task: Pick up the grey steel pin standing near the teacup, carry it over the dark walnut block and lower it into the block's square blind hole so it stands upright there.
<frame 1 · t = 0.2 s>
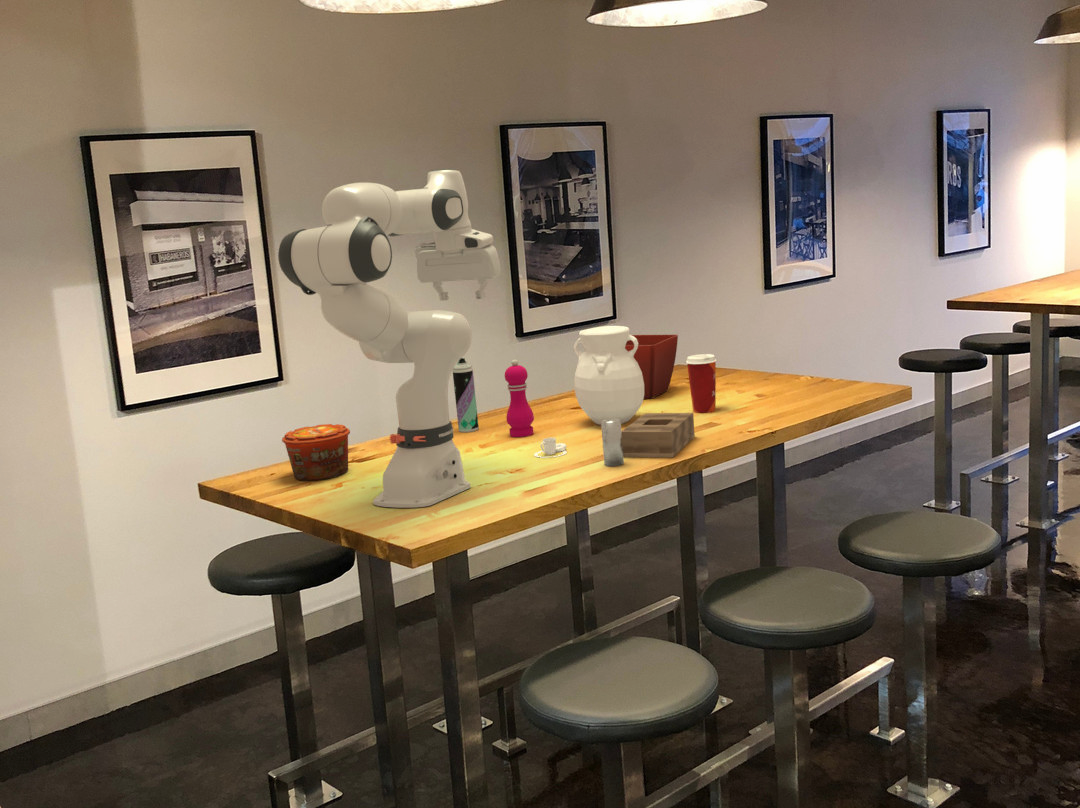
hand: (462, 299, 246), 39 cm above the table, tool pointing down, fingers open, 8 cm apart
plant pot: (640, 395, 317), on the table
teacup and saucer: (563, 456, 253), on the table
pepper mill: (521, 435, 278), on the table
food container: (321, 475, 254), on the table
socket block: (659, 446, 251), on the table
spray can: (468, 430, 289), on the table
coffee cup: (704, 411, 286), on the table
pin: (614, 464, 239), on the table
pitcher: (612, 422, 283), on the table
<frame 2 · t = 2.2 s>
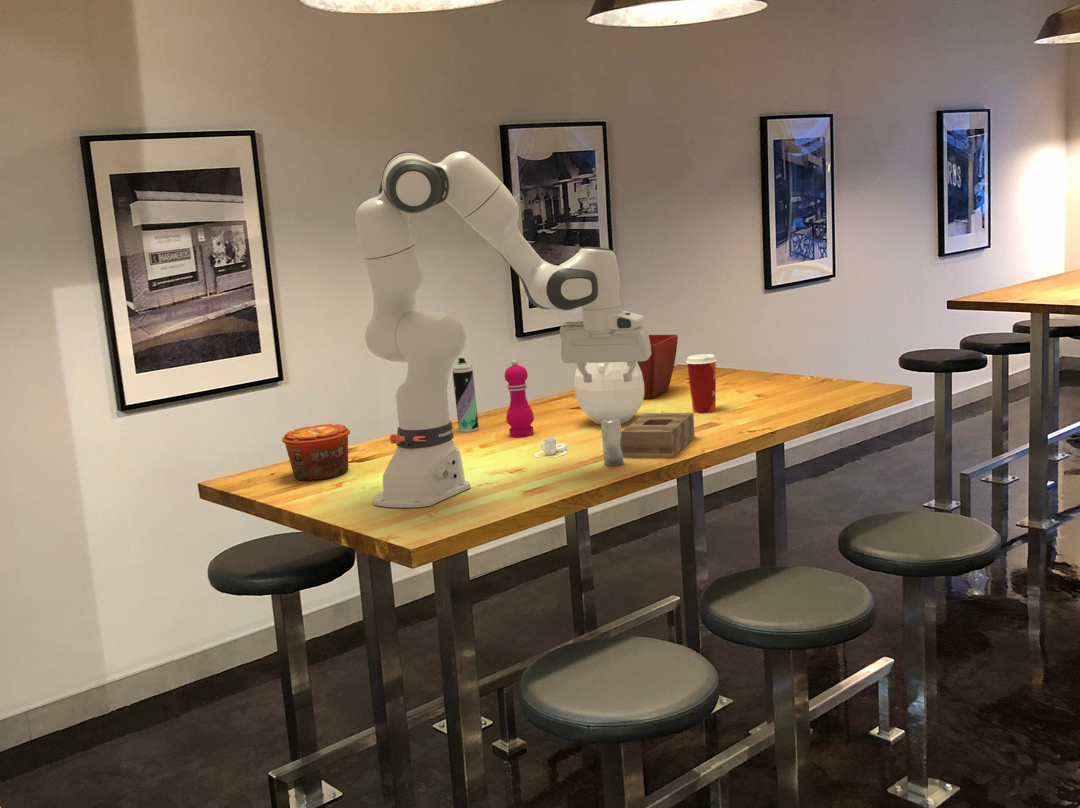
hand: (607, 381, 235), 19 cm above the table, tool pointing down, fingers open, 8 cm apart
nothing on the table moved.
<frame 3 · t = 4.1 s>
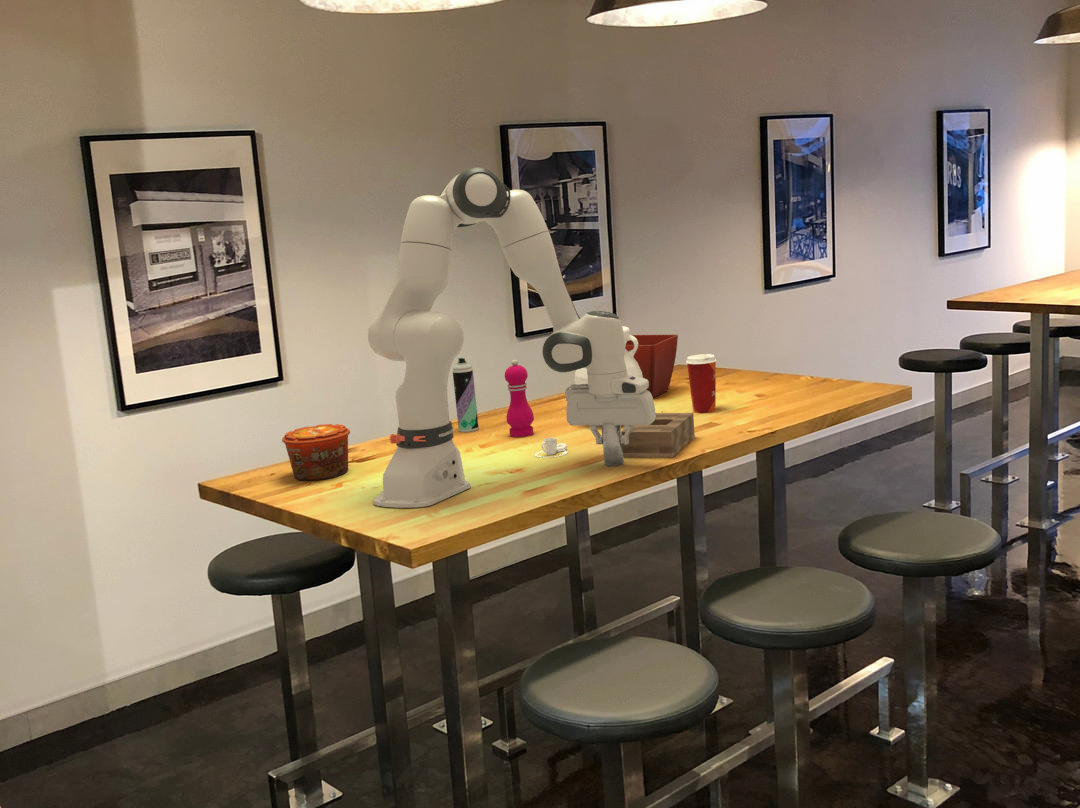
hand: (612, 444, 238), 5 cm above the table, tool pointing down, fingers closed on pin, 4 cm apart
pin: (614, 463, 239), on the table, touching gripper
everything else where it was.
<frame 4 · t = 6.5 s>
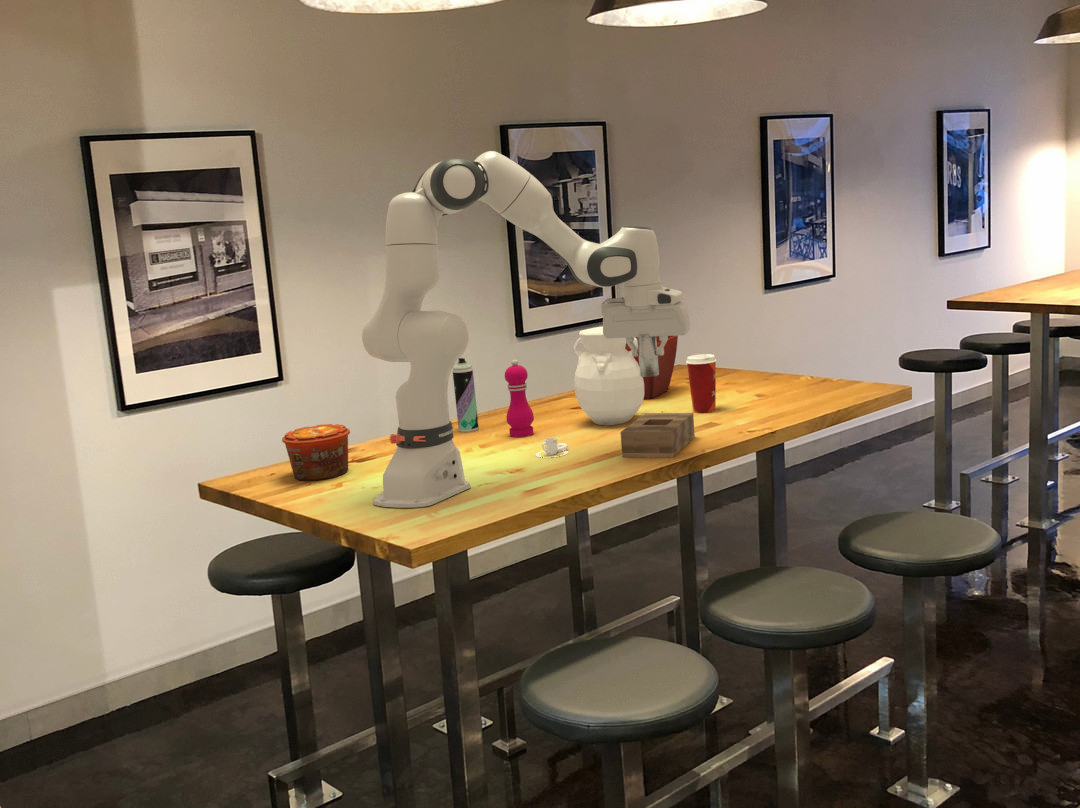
hand: (648, 355, 245), 22 cm above the table, tool pointing down, fingers closed on pin, 4 cm apart
pin: (649, 375, 246), point 18 cm above the table, touching gripper
everything else where it was.
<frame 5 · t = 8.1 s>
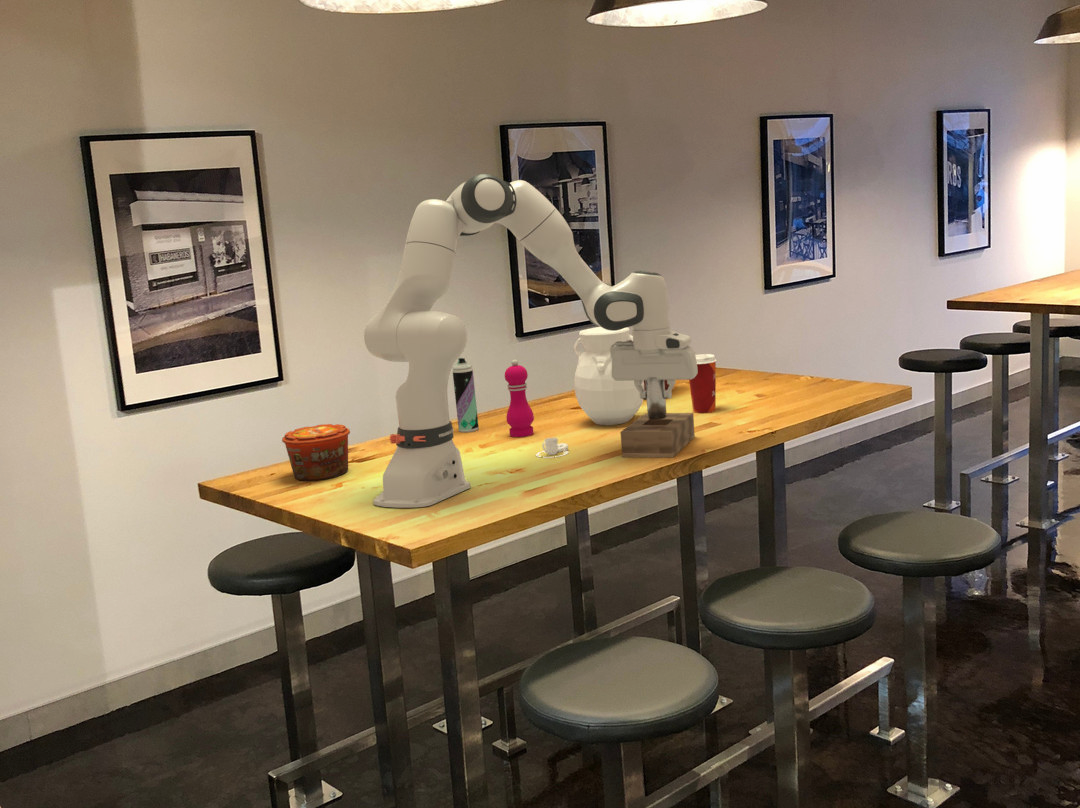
hand: (655, 398, 249), 12 cm above the table, tool pointing down, fingers closed on pin, 4 cm apart
pin: (657, 417, 249), point 7 cm above the table, touching gripper
everything else where it was.
when the fingers open (8 cm above the table, at t = 9.3 s): pin drops 2 cm, resting on socket block.
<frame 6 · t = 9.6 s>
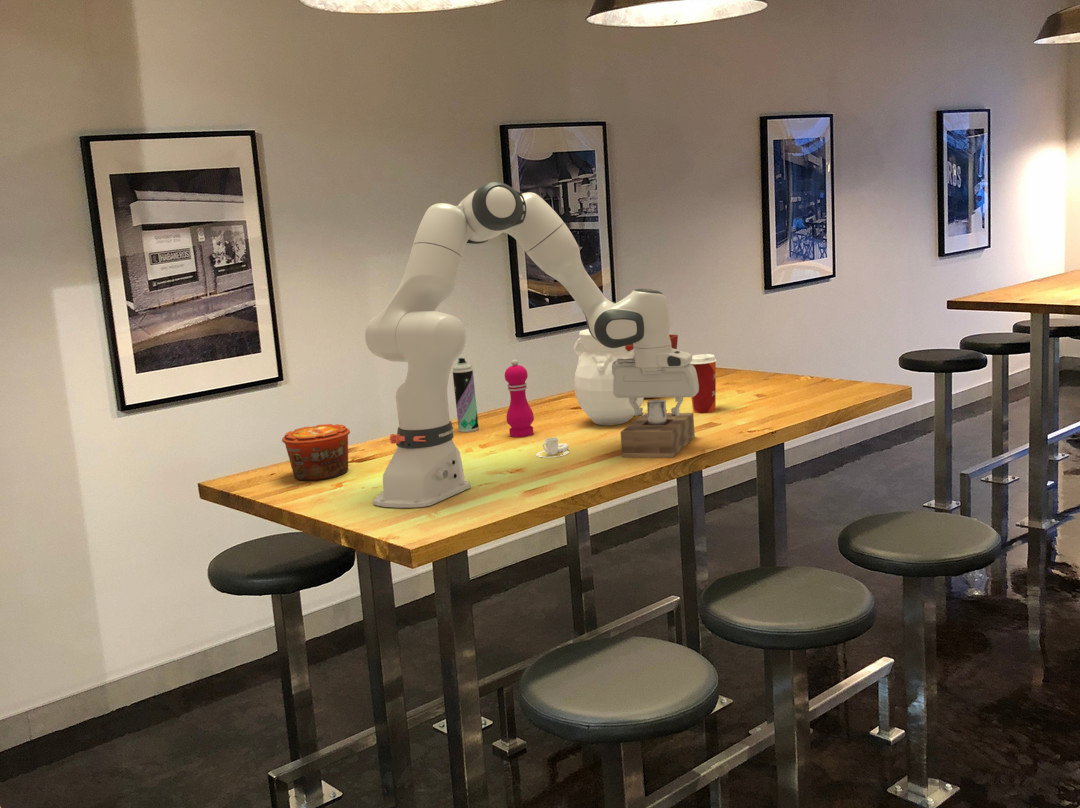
hand: (657, 415, 249), 8 cm above the table, tool pointing down, fingers open, 8 cm apart
pin: (658, 442, 250), point 1 cm above the table, touching socket block
everything else where it was.
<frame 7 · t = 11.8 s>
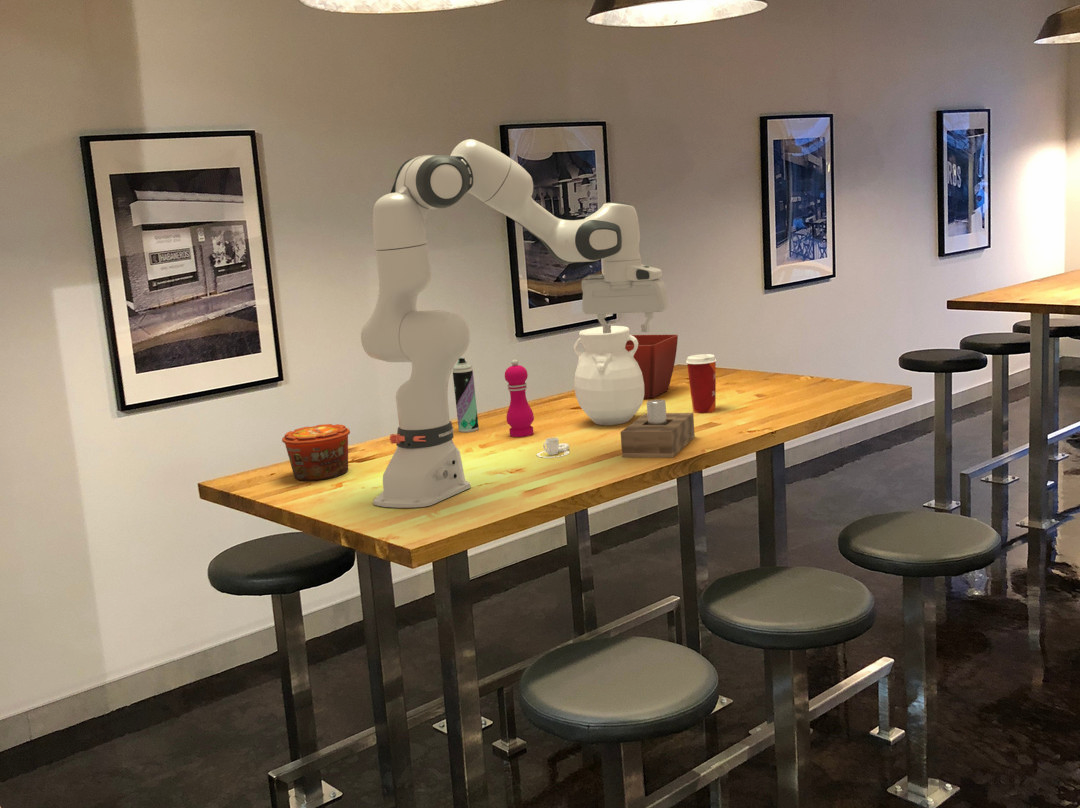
hand: (626, 332, 247), 28 cm above the table, tool pointing down, fingers open, 8 cm apart
nothing on the table moved.
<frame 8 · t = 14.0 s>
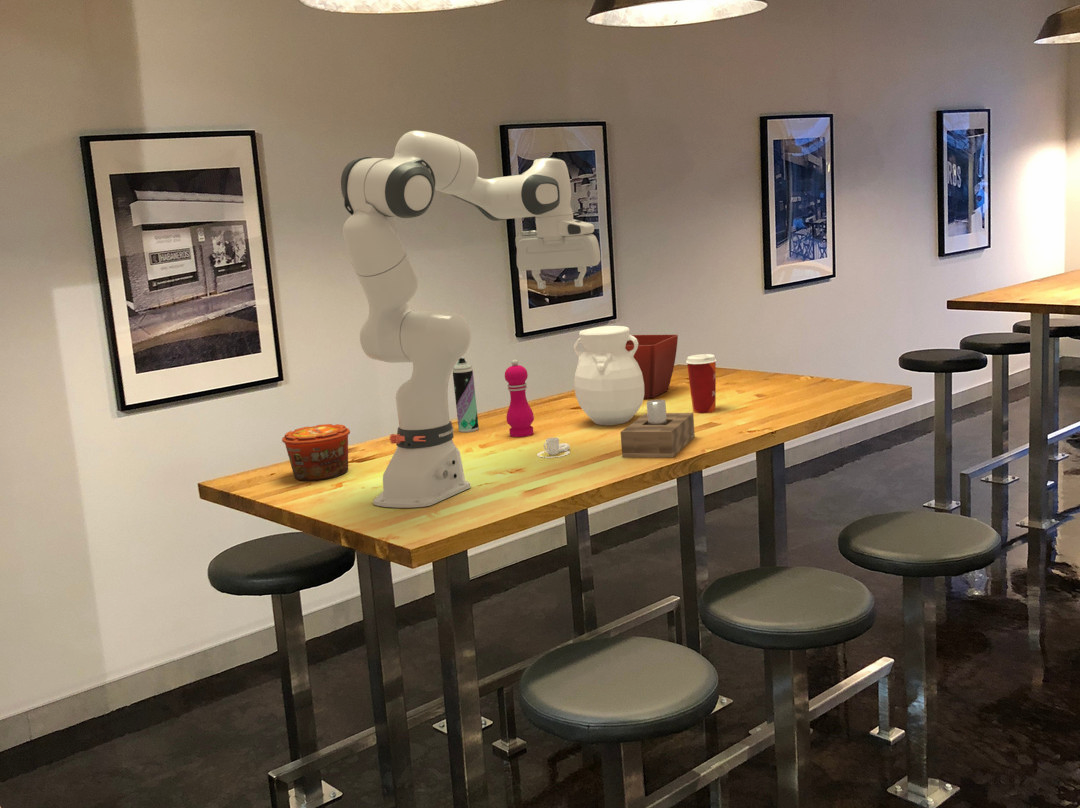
hand: (560, 287, 250), 39 cm above the table, tool pointing down, fingers open, 8 cm apart
nothing on the table moved.
at the end: pin 0.1 cm off-centre on the socket block, point 1.0 cm above the socket block's base; pin tilted 0°; the gripper is holding nothing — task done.
